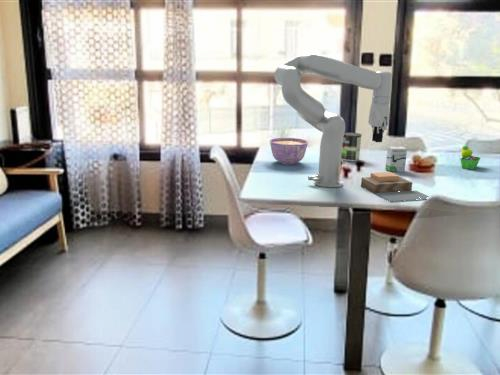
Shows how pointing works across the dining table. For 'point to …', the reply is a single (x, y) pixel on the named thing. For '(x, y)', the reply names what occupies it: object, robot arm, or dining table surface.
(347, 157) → the coffee can
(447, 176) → the dining table surface
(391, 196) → the mat
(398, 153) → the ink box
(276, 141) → the bowl of food
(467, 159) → the fruit basket
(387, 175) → the tile
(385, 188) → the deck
